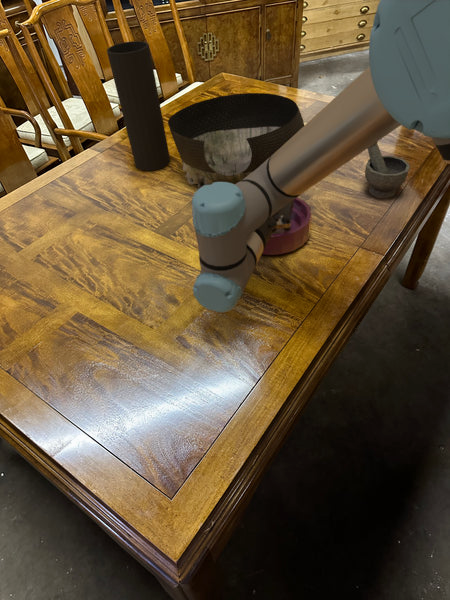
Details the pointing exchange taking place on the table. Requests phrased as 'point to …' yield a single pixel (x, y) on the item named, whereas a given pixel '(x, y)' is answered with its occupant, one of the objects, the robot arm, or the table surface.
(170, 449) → the table surface
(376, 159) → the mortar and pestle
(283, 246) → the bowl
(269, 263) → the table surface
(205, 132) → the basket
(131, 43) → the vase
